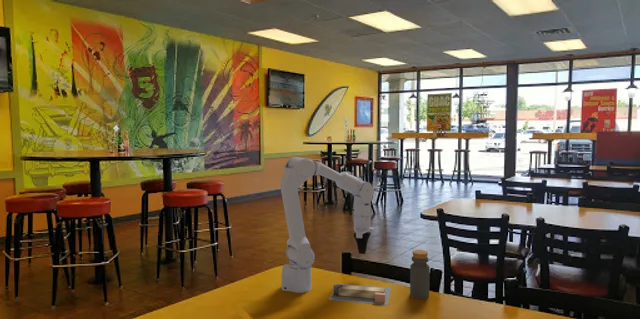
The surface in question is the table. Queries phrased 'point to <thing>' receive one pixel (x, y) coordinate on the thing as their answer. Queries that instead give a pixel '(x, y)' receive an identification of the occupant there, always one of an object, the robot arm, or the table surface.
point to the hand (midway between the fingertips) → (362, 253)
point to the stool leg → (356, 291)
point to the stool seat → (360, 299)
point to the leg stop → (380, 297)
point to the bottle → (419, 275)
